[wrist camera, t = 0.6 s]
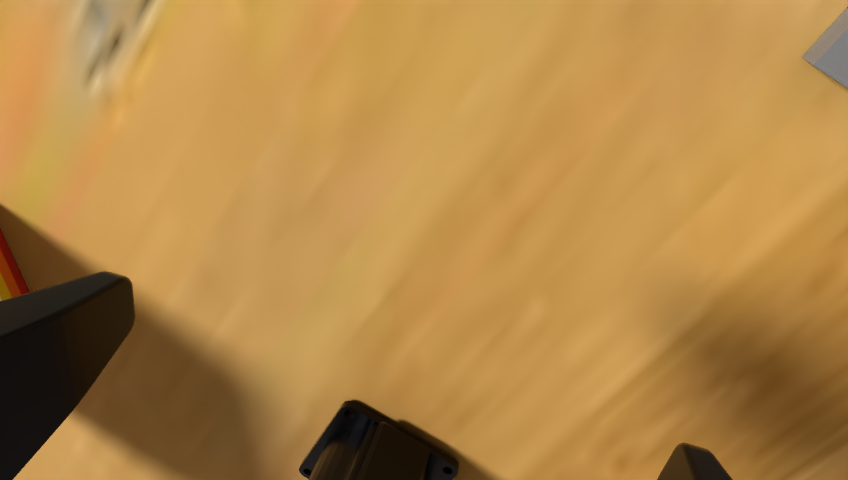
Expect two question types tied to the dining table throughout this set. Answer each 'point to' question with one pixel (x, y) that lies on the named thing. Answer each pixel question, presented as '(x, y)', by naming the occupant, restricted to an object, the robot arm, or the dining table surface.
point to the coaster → (832, 50)
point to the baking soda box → (9, 274)
